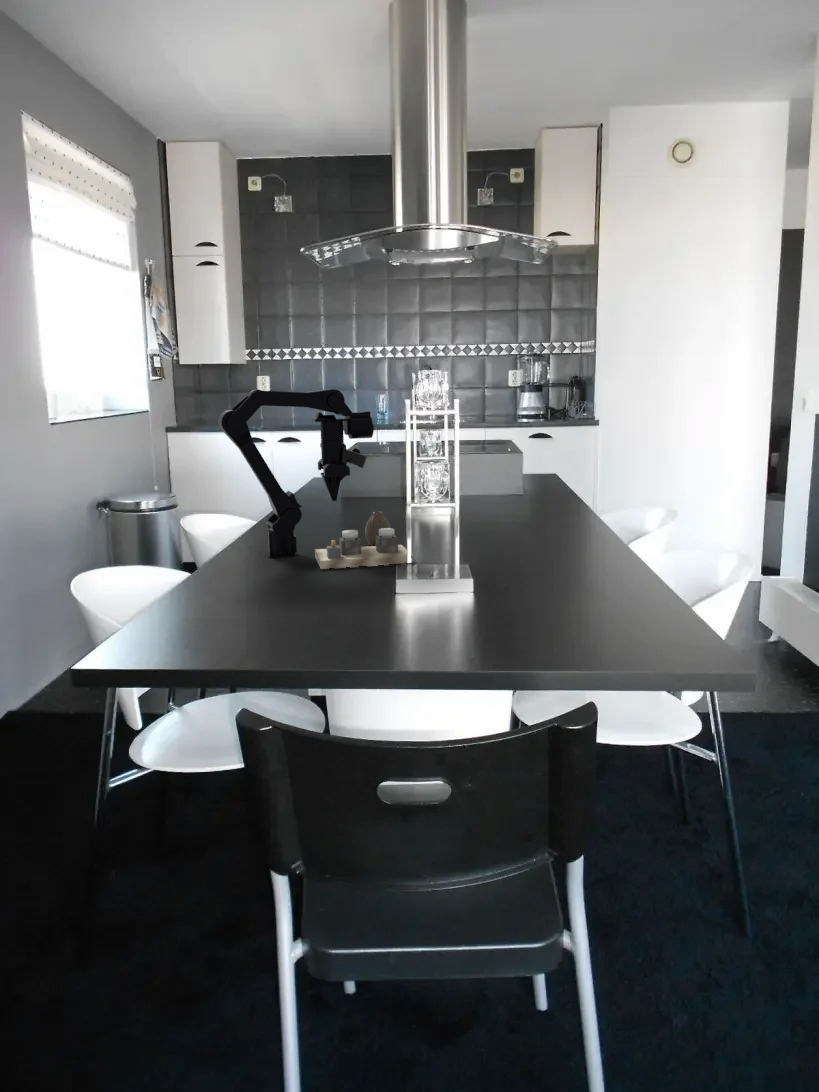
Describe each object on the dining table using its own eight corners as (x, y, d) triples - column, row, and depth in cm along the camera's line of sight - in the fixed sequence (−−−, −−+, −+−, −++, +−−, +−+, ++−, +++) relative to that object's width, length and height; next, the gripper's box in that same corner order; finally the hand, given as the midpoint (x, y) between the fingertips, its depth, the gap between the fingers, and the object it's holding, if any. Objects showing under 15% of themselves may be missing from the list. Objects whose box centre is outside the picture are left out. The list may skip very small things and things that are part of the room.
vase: (380, 548, 217) (379, 515, 215) (360, 545, 221) (359, 512, 219) (396, 543, 222) (395, 511, 221) (376, 541, 226) (375, 509, 225)
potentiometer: (328, 558, 195) (327, 542, 194) (326, 556, 198) (326, 539, 197) (340, 557, 196) (340, 541, 195) (339, 555, 199) (338, 539, 198)
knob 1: (343, 553, 199) (343, 533, 198) (341, 550, 202) (341, 530, 201) (359, 552, 199) (358, 532, 199) (357, 549, 203) (356, 529, 202)
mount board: (320, 569, 193) (320, 546, 192) (315, 557, 207) (314, 535, 206) (413, 563, 197) (412, 541, 196) (401, 552, 211) (401, 531, 210)
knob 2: (380, 550, 201) (380, 531, 200) (378, 547, 204) (377, 528, 203) (396, 550, 201) (395, 530, 200) (393, 547, 205) (392, 527, 204)
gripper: (369, 441, 202) (371, 504, 205) (358, 436, 219) (360, 494, 223) (323, 442, 199) (326, 506, 202) (316, 437, 217) (318, 496, 220)
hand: (334, 500), depth 212 cm, fingers closed
